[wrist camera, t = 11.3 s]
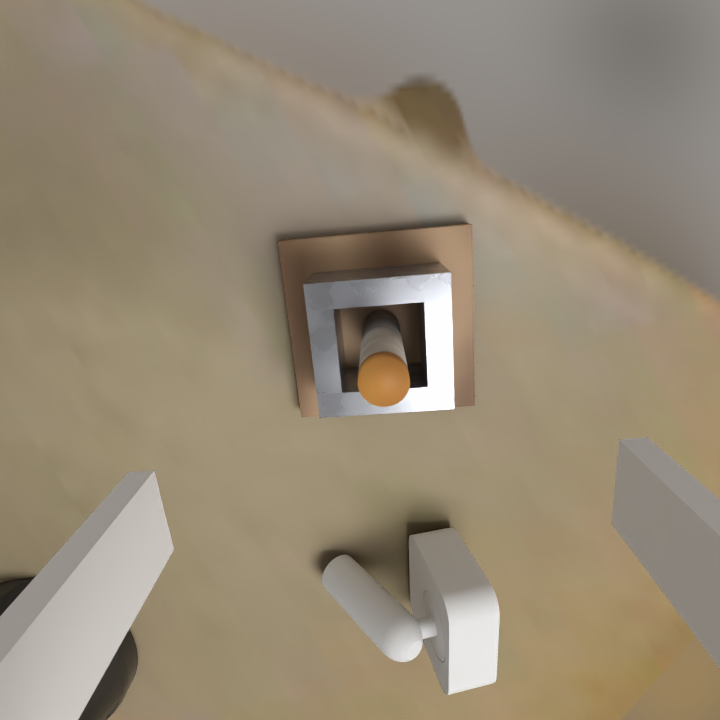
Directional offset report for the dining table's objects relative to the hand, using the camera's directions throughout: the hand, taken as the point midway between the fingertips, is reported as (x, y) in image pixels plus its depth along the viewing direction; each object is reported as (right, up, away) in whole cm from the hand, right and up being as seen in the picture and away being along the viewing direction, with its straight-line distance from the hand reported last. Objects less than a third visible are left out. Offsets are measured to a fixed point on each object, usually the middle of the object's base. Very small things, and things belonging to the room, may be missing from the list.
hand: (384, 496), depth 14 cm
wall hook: (+2, -12, +25) cm, 29 cm away
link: (+1, +6, +18) cm, 19 cm away
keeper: (+1, +6, +19) cm, 20 cm away
